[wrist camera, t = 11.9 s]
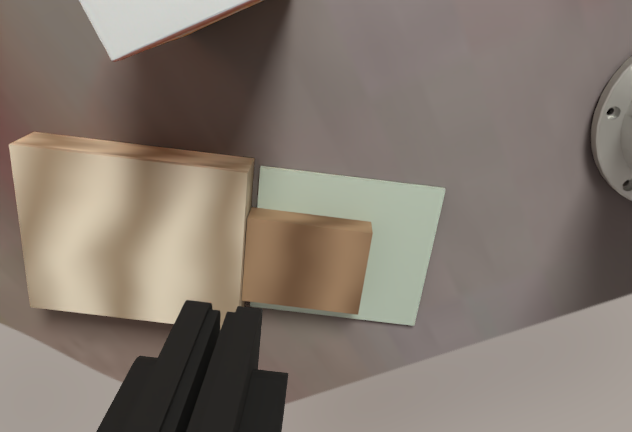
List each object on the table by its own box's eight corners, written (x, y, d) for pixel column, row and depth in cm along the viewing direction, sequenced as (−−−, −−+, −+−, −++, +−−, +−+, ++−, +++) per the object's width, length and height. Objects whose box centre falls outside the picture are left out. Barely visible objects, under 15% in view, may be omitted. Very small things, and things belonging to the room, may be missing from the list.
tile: (371, 221, 39) (372, 233, 38) (357, 300, 42) (358, 314, 40) (251, 207, 39) (247, 217, 38) (245, 286, 42) (241, 300, 40)
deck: (254, 158, 38) (247, 173, 35) (244, 307, 44) (237, 331, 41) (34, 131, 38) (8, 144, 35) (51, 285, 43) (30, 307, 40)
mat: (444, 187, 39) (445, 189, 38) (413, 322, 43) (414, 325, 43) (260, 165, 38) (260, 167, 38) (250, 303, 43) (249, 306, 43)
